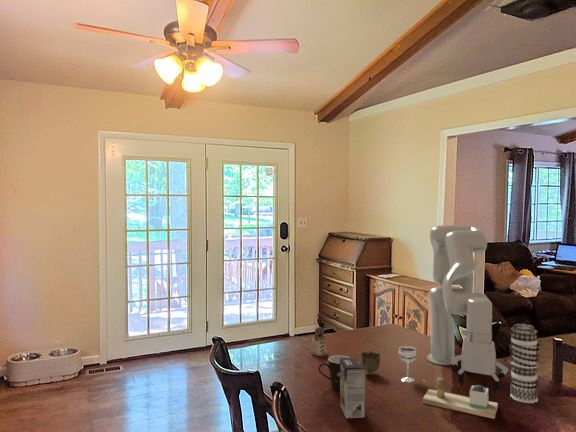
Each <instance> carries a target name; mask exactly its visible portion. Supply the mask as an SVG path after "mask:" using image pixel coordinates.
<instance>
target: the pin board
mask: <svg viewBox="0 0 576 432" xmlns="http://www.w3.org/2000/svg"><path fill="white" fill-rule="evenodd" d="M445 381H446V380H445V378H443V377H437V378H436V390H435V389H430V388H429V389H427V391H426V393H425V394H424V395H423V398H422V404H425V405H430V406H433V407H438V408H443V409H448V410H451V411H457V412H461V413H466V414H471V415H474V416H478V417H479V416H480V417H484V418H489V419H493V420H494V419H496V415H497V411H498V406H499V405H498V404H499V403H498V402H494V401H489V400H488V401H489V404H488V407H487V410H485V409H480V408H475V407H471V406H469V403H470V396H465V395H461V394H455V393H450V392H446V391H445V390H446V389H445V385H446V384H445ZM474 386H475V391H477V392H482V393H483V388H484V386H483V385H481V384H475V385H474Z"/></svg>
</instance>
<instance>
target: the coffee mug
mask: <svg viewBox="0 0 576 432" xmlns="http://www.w3.org/2000/svg"><path fill="white" fill-rule="evenodd" d="M340 358H351V357H350V356H346V355H332V356H329V357H328V364H327V362H326V363H325V362H324V363H321V364H320V365H319V367H318V372H319V373H320V375H322V376H323V377H324V378H327V379H329V381H330V383H331V388H332V389H334V390H337V391H340ZM322 366H327V367H328V368H327V369H329V376H330V377H329V376H328V375H326V374H324V373H323V372H322V371H321V367H322Z"/></svg>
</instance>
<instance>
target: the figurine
mask: <svg viewBox="0 0 576 432" xmlns="http://www.w3.org/2000/svg"><path fill="white" fill-rule="evenodd" d="M314 331H315V332H314V333H315V335H314V336H313V337H312V340H311V346H310V347H311V349H310V352H311V355H312V356H316V357H323V356H327V353H328V348H327V342H326V336H325V333H324V331H325V330H324V328H322V327H320V326H318V327H315V329H314Z"/></svg>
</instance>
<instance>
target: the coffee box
mask: <svg viewBox="0 0 576 432" xmlns="http://www.w3.org/2000/svg"><path fill="white" fill-rule="evenodd" d="M339 399H340V408H341V411H342V412H343V414H344V416H345V419H357V418H358V419H360V418H361V419H362V418H365V417H366V416H365V415H366V409H365V408H366V405H365V404H366V400H365V399H366V370H365V367H364V365H363V364H362V360H360V359H359V357H350V358H340V390H339Z"/></svg>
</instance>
